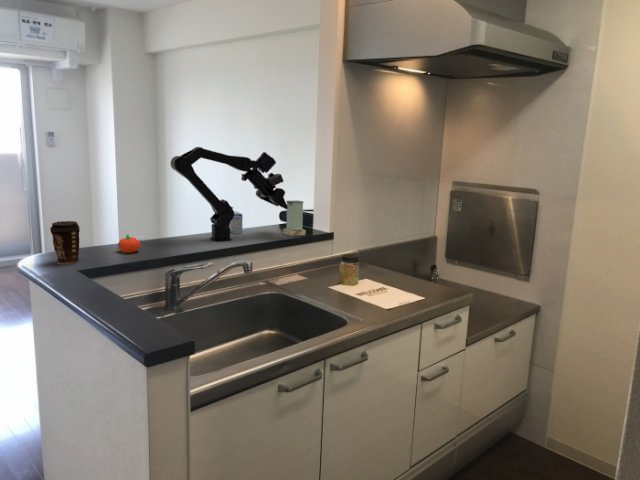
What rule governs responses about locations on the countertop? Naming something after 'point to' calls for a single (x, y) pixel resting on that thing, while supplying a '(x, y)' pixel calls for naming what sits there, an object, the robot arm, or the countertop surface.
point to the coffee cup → (66, 241)
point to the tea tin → (295, 215)
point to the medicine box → (236, 223)
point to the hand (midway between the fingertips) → (282, 207)
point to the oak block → (294, 232)
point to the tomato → (128, 244)
